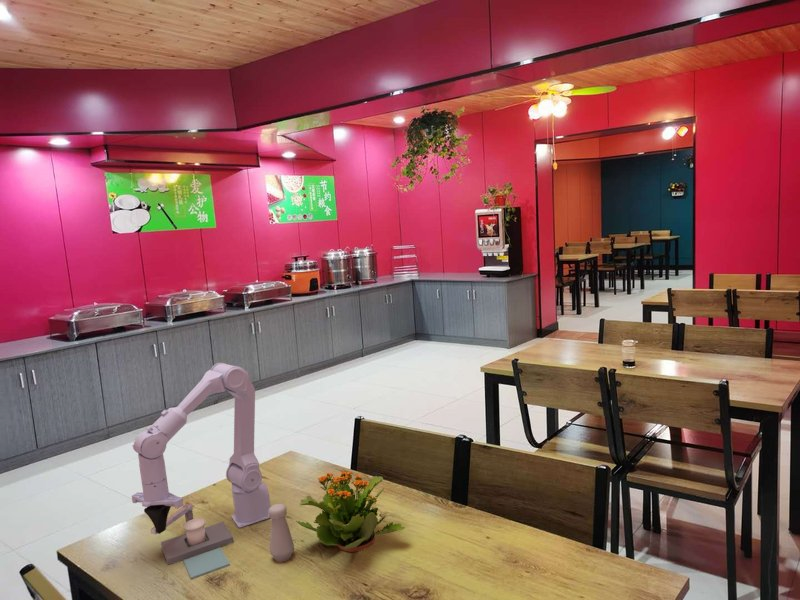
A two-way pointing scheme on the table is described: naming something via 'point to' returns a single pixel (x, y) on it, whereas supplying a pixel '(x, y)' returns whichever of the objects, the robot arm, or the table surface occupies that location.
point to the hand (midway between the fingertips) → (161, 531)
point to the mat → (206, 563)
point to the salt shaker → (280, 534)
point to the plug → (195, 531)
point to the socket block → (179, 551)
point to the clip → (175, 516)
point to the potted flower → (347, 513)
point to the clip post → (189, 516)
